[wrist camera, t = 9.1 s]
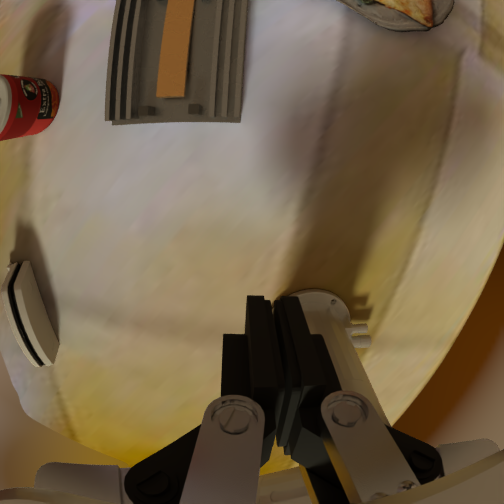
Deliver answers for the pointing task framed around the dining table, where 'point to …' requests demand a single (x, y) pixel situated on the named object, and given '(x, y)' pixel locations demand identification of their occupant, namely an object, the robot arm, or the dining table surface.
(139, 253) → the dining table surface
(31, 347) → the white curved block
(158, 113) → the heatsink
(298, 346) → the robot arm
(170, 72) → the orange brown flat bar
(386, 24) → the food plate
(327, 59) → the dining table surface
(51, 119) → the canned food
